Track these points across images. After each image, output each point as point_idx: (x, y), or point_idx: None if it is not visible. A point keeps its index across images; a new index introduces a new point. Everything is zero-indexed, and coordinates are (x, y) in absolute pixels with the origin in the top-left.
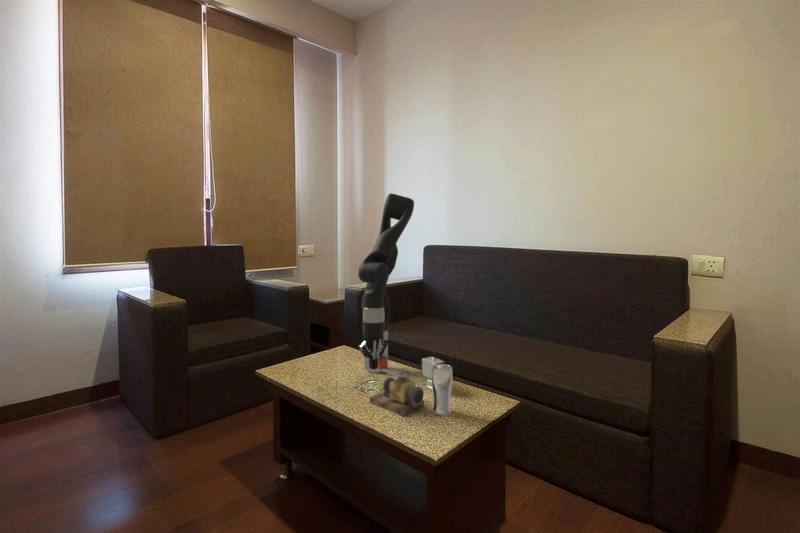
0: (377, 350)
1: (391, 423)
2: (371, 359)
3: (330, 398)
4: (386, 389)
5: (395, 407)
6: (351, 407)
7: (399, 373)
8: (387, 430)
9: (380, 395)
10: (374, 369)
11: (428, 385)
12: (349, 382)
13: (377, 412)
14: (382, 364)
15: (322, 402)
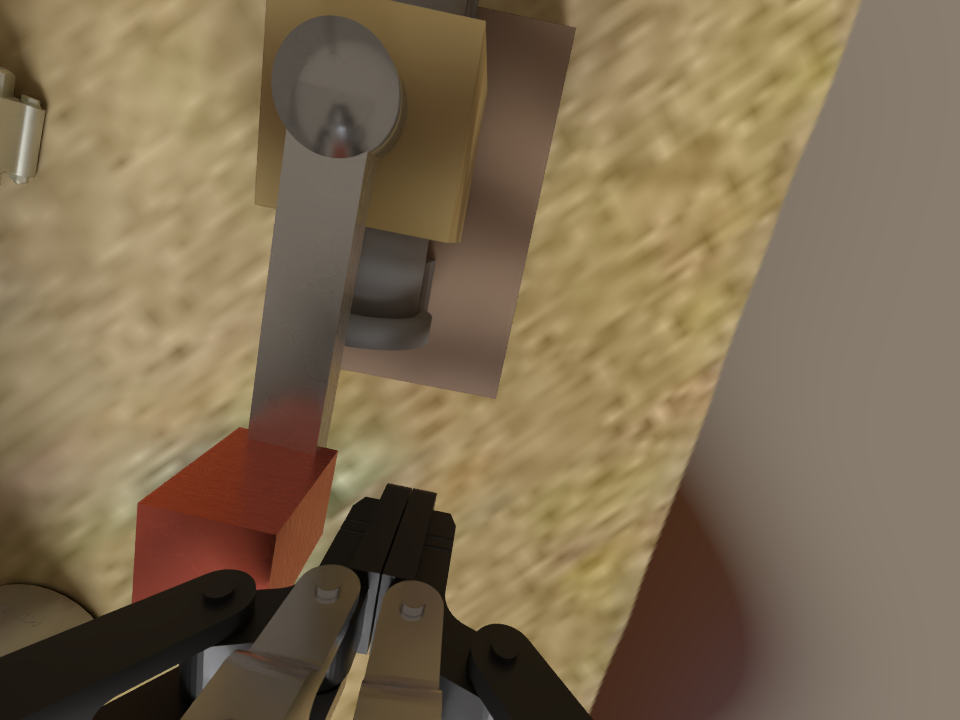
0: (298, 700)
1: (704, 68)
2: (444, 612)
3: (563, 605)
4: (420, 309)
5: (553, 130)
6: (611, 439)
7: (341, 150)
8: (812, 28)
9: (432, 353)
10: (425, 492)
11: (12, 162)
12: None
13: (597, 258)
14: (290, 475)
15: (630, 607)
